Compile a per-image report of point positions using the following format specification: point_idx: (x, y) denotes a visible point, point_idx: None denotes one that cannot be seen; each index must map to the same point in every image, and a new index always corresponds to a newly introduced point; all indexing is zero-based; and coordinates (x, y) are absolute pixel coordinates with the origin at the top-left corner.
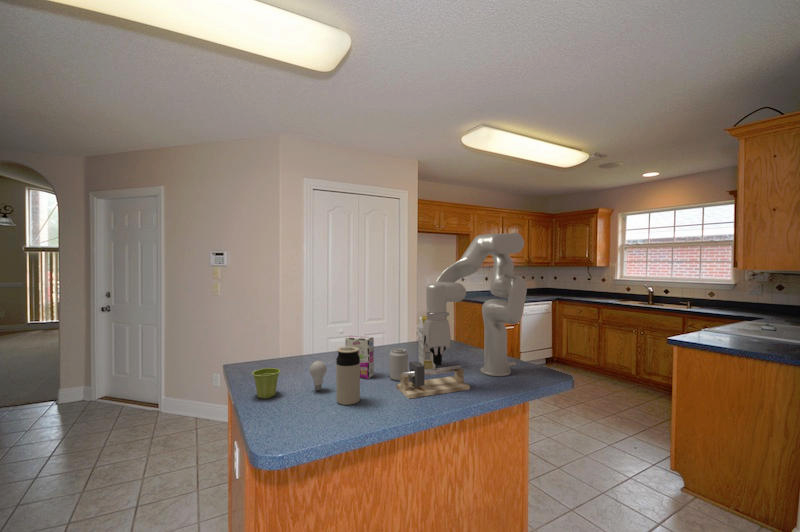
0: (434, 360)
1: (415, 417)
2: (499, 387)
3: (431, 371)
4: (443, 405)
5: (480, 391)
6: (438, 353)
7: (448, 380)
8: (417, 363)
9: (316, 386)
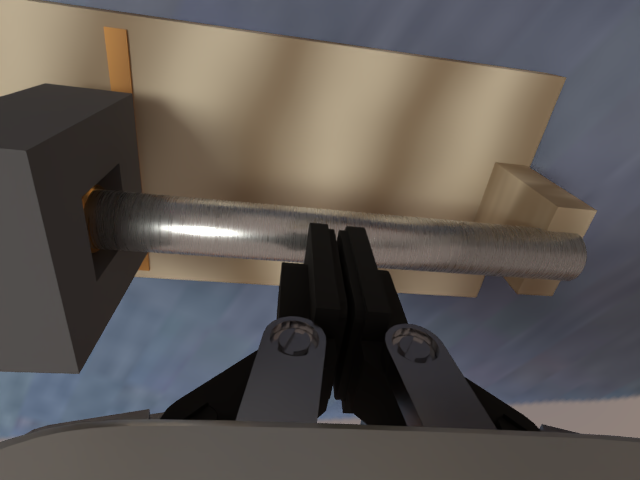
0: (277, 311)
1: (11, 426)
2: (616, 320)
3: (230, 256)
4: (193, 382)
5: (486, 323)
6: (352, 390)
7: (440, 155)
8: (12, 259)
9: None
